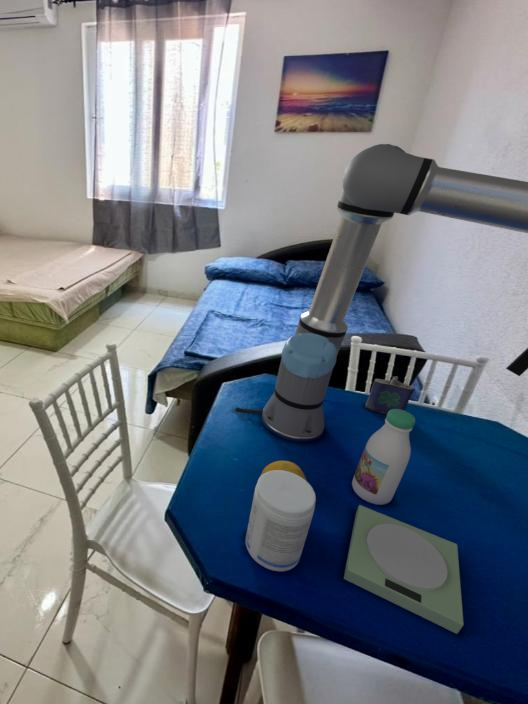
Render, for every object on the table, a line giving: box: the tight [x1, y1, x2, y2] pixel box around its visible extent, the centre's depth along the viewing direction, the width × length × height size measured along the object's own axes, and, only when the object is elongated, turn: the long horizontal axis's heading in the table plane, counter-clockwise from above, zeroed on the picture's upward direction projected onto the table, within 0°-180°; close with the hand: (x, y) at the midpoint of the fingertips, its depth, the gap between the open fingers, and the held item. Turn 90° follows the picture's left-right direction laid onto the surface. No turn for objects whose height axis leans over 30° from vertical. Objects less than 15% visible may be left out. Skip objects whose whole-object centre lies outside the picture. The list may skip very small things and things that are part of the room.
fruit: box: [260, 460, 307, 481], centre depth 82 cm, size 9×8×8 cm
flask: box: [365, 375, 414, 414], centre depth 109 cm, size 9×3×11 cm, turn 65°
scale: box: [343, 504, 465, 635], centre depth 70 cm, size 16×16×3 cm
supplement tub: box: [245, 470, 317, 572], centre depth 69 cm, size 10×10×15 cm
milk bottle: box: [351, 409, 416, 506], centre depth 81 cm, size 8×8×20 cm
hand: (524, 382), depth 83 cm, fingers open, 13 cm apart
